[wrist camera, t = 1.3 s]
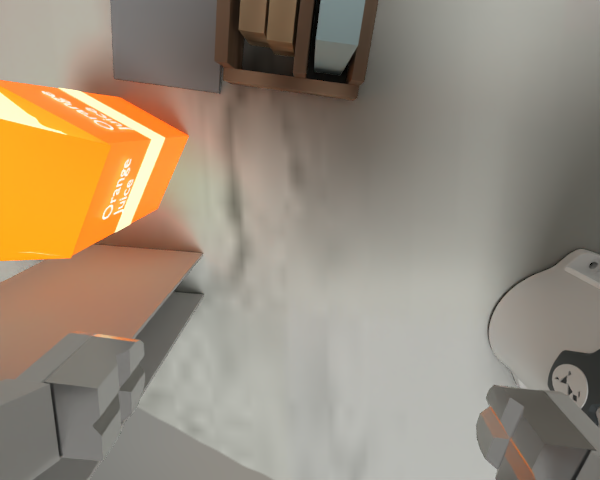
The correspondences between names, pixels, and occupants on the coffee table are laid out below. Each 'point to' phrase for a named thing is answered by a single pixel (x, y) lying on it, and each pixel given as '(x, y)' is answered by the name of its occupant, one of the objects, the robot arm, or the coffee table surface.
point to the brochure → (95, 312)
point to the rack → (232, 55)
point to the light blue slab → (337, 34)
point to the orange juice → (76, 168)
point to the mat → (166, 43)
